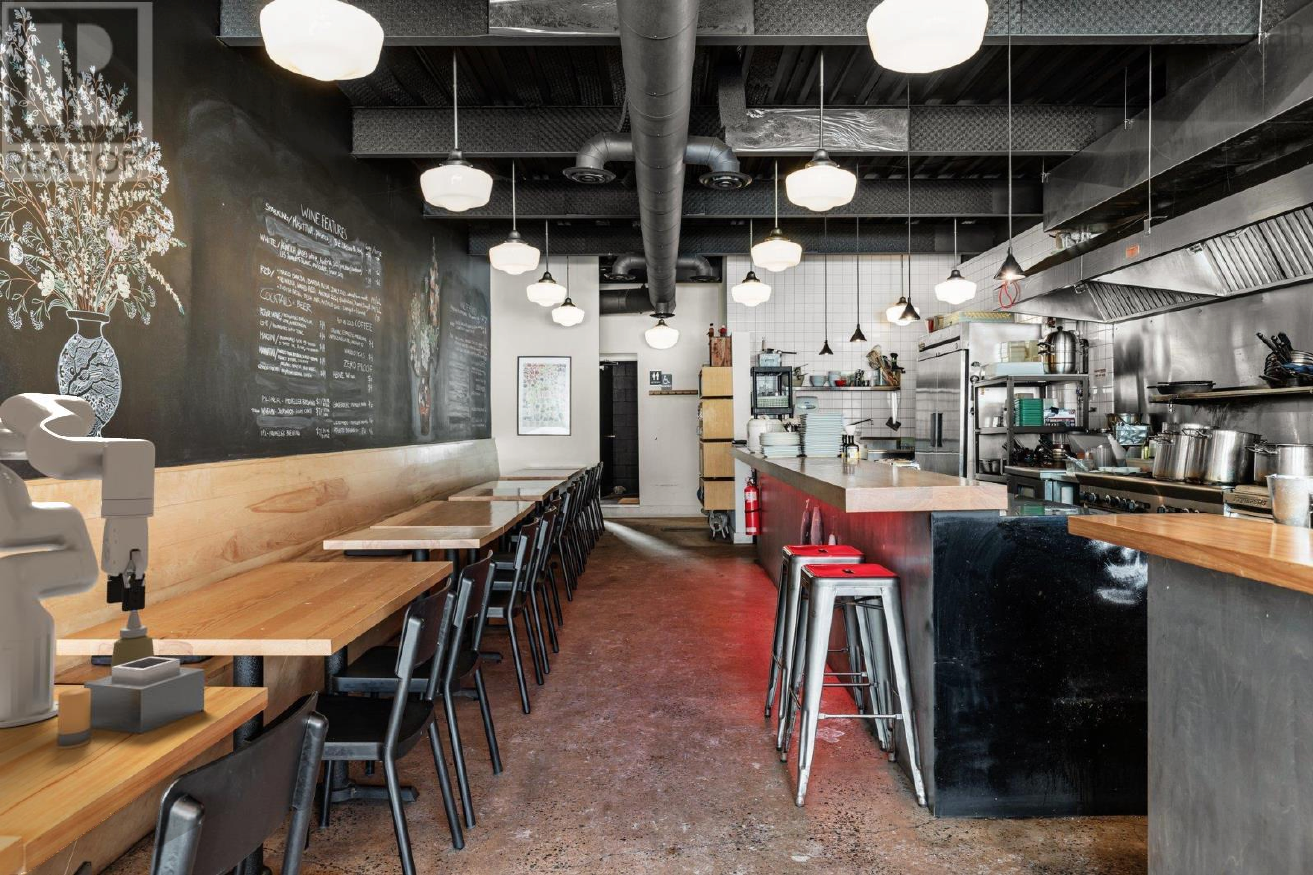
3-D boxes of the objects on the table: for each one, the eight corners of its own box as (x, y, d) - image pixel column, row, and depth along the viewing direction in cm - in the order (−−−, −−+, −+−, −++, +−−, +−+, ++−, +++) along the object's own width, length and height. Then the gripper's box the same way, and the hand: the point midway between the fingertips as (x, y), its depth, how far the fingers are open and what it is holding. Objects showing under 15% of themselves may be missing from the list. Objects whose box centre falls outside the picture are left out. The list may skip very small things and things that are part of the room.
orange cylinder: (50, 747, 124) (51, 695, 124) (77, 738, 128) (78, 687, 128) (69, 750, 122) (70, 697, 123) (96, 740, 127) (97, 689, 127)
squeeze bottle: (130, 704, 146) (132, 615, 146) (98, 702, 147) (99, 613, 148) (165, 691, 154) (166, 607, 154) (134, 689, 155) (135, 606, 156)
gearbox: (83, 726, 133) (84, 669, 134) (150, 704, 146) (151, 651, 146) (140, 734, 129) (141, 675, 130) (204, 710, 142) (204, 656, 142)
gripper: (89, 507, 129) (86, 602, 129) (115, 512, 118) (112, 617, 118) (138, 505, 135) (136, 596, 135) (168, 510, 124) (165, 610, 124)
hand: (125, 606), depth 126 cm, fingers open, 9 cm apart
